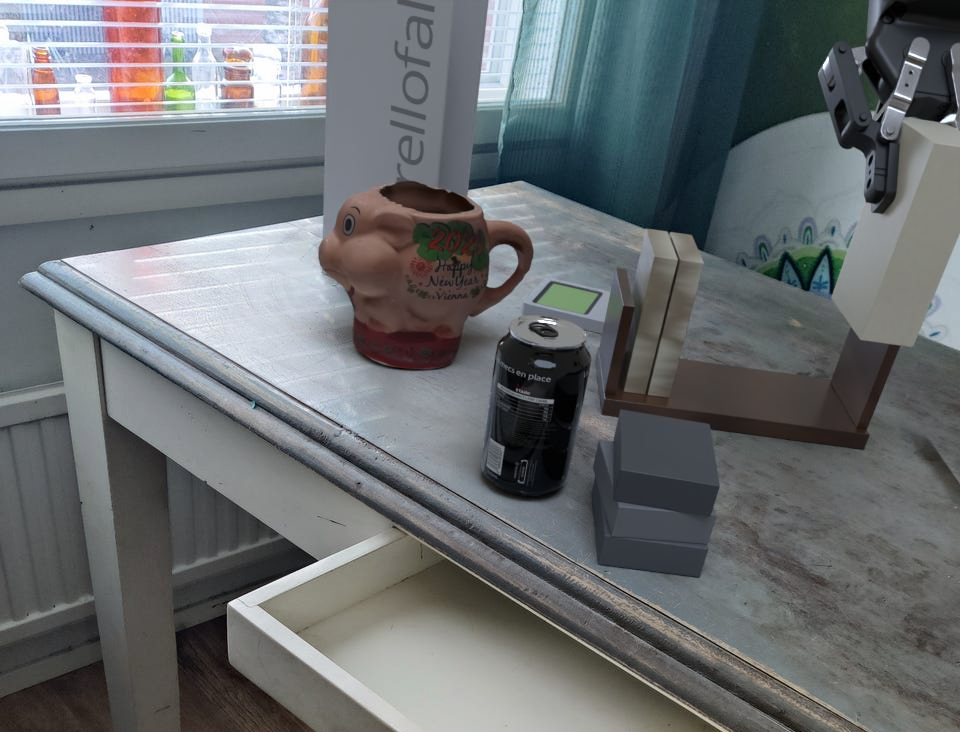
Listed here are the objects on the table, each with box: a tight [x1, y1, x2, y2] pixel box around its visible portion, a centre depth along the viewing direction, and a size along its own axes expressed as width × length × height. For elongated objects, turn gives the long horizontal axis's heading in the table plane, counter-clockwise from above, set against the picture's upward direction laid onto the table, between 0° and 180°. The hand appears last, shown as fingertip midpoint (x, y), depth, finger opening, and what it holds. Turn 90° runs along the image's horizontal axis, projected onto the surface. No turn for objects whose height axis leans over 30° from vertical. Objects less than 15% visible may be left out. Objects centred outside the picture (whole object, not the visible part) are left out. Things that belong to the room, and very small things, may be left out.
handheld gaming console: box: [521, 277, 611, 335], centre depth 107 cm, size 10×2×15 cm
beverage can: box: [480, 315, 592, 497], centre depth 73 cm, size 7×7×12 cm
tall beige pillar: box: [830, 117, 960, 348], centre depth 65 cm, size 4×8×12 cm, turn 178°
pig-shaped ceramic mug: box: [317, 181, 535, 370], centre depth 90 cm, size 20×12×14 cm, turn 114°
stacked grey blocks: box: [591, 410, 721, 578], centre depth 70 cm, size 8×10×7 cm
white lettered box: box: [321, 0, 490, 276], centre depth 97 cm, size 14×6×30 cm, turn 55°
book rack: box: [594, 228, 901, 450], centre depth 89 cm, size 24×12×14 cm, turn 87°
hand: (915, 210), depth 63 cm, fingers closed on tall beige pillar, 3 cm apart
